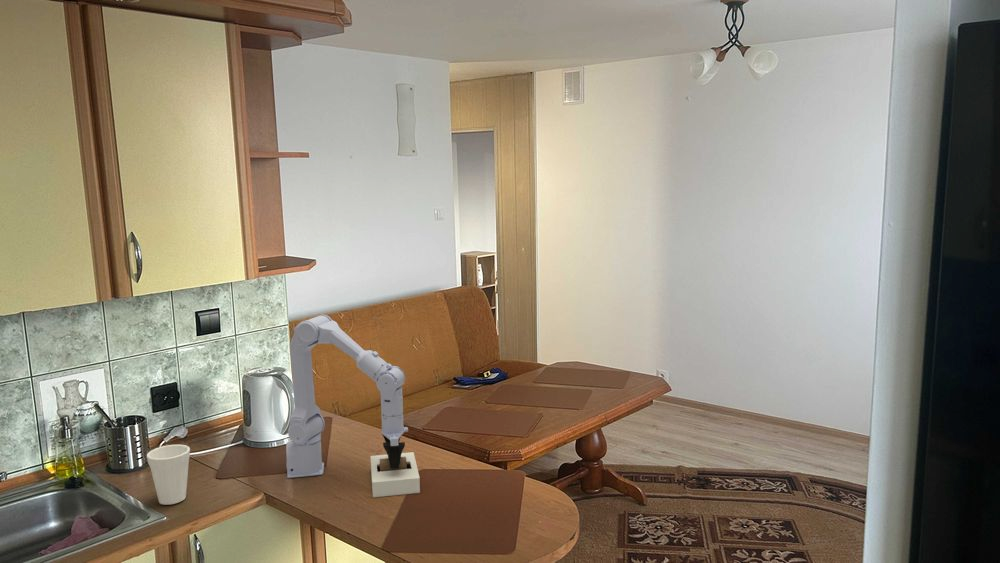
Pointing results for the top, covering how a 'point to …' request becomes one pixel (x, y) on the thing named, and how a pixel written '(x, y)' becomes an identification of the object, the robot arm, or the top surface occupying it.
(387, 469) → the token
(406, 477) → the slotted box
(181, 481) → the cup
